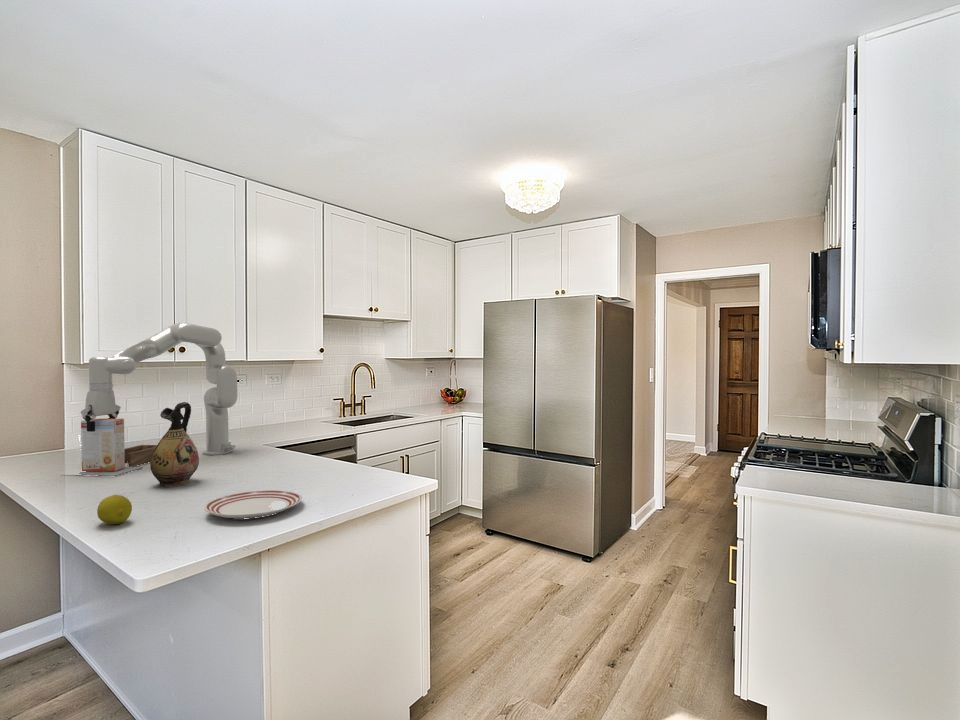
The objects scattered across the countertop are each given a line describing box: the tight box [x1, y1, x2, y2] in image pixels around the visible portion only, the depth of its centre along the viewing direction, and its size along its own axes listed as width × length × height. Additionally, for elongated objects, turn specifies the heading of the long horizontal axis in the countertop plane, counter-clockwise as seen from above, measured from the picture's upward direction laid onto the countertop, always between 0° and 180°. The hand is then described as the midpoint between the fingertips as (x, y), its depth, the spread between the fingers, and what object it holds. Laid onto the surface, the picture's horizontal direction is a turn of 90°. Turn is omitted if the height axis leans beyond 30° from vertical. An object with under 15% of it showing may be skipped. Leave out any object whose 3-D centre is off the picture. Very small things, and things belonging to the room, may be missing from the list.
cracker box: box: [80, 418, 126, 471], centre depth 205 cm, size 14×6×21 cm, turn 87°
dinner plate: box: [203, 489, 303, 520], centre depth 155 cm, size 27×27×3 cm
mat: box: [79, 466, 144, 477], centre depth 204 cm, size 24×14×1 cm, turn 82°
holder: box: [125, 444, 158, 467], centre depth 221 cm, size 11×19×6 cm, turn 172°
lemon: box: [96, 494, 133, 525], centre depth 143 cm, size 11×8×8 cm
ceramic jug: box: [149, 401, 200, 488], centre depth 187 cm, size 17×15×30 cm
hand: (101, 429), depth 204 cm, fingers open, 9 cm apart
